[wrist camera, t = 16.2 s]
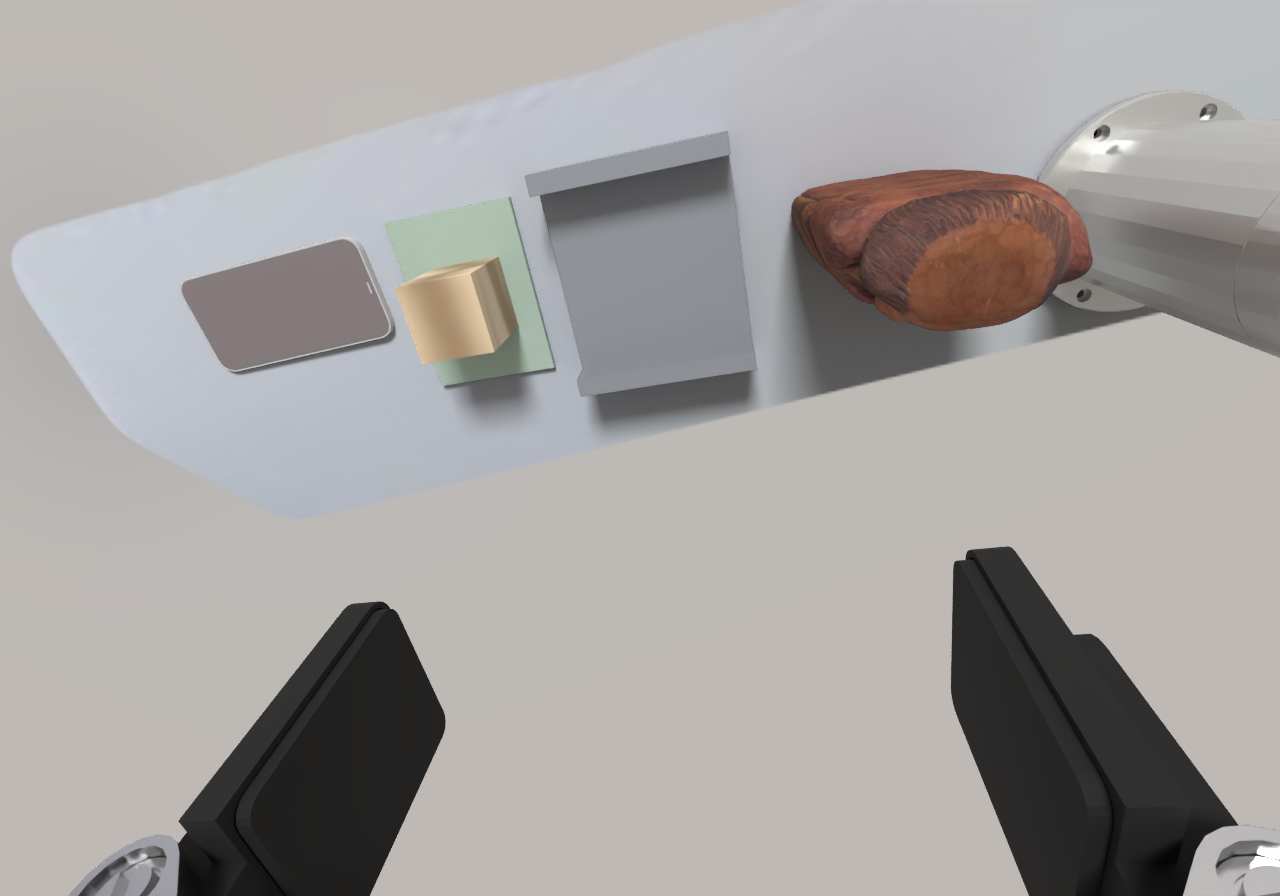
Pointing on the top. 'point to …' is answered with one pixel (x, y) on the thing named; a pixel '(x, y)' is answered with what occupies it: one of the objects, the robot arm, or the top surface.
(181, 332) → the top surface
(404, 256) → the sage mat
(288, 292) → the smartphone
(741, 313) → the gray u-shaped channel
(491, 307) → the beech block
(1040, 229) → the wooden figurine
